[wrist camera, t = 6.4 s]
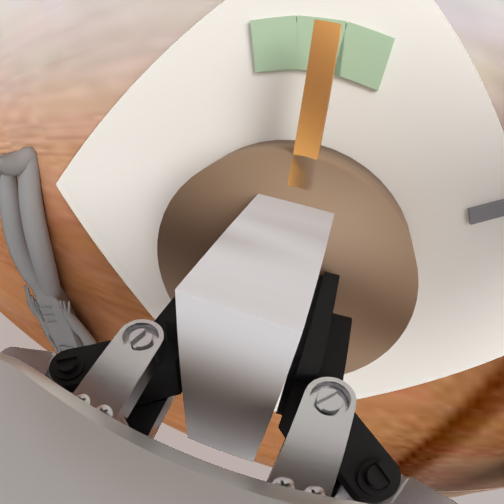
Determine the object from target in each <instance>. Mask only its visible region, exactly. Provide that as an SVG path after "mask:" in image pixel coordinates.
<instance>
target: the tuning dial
mask: <svg viewBox="0 0 504 504" xmlns="http://www.w3.org/2000/svg"><path fill="white" fill-rule="evenodd" d="M341 27H342V26H341V24H339V23H334V22H328V21H322V20H316V19H314V26H313V33H312V40H311V46H310V53H309V59H308V66H307V72H306V79H305V85H304V91H303V97H302V103H301V110H300V116H299V122H298V128H297V134H296V139H295V140H273V141H265V142H259V143H255V144H251V145H248V146H244V147H242V148H240V149H237V150H235V151H233V152H231V153H229V154H227V155H225V156H224V157H222V158H220V159H219V160H217V161H215V162H214V163H212V164H210V165H209V166H207V167H206V168H204V169H203V170H201V171H200V172H198V173H197V174H195V175H194V176H192V177H191V178H190V179H189V180H188V181H187V182H186V183H185V184H184V185H183V186H181V187H180V188H179V190H178V191H177V192H176V194H175V195H174V196H173V198H172V199H171V200H170V202H169V204H168V206H167V208H166V210H165V212H164V214H163V218H162V221H161V224H160V227H159V233H158V239H157V256H158V264H159V269H160V273H161V277H162V281H163V283H164V286H165V288H166V291H167V293H168V295H169V297H170V299H171V300H172V299H173V298H174V296H175V299H176V318H177V334H178V347H179V360H180V371H181V382H182V392H183V401H184V410H185V419H186V427H187V435H188V438H190V439H192V440H195V441H197V442H200V443H202V444H204V445H207V446H209V447H212V448H215V449H217V450H220V451H223V452H226V453H228V454H231V455H234V456H237V457H240V458H242V459H246V460H248V461H251V462H253V460H254V458H255V456H256V453H257V451H258V449H259V446H260V444H261V441H262V439H263V436H264V434H265V432H266V429H267V427H268V424H269V422H270V419H271V417H272V414H273V412H274V409H275V406H276V404H277V401H278V399H279V396H280V393H281V391H282V388H283V385H284V383H285V380H286V377H287V375H288V372H289V369H290V366H291V364H292V361H293V358H294V355H295V352H296V350H297V347H298V344H299V341H300V338H301V335H302V332H303V329H304V326H305V322H306V319H307V315H308V312H309V309H310V305H311V302H312V298H313V295H314V291H315V287H316V284H317V280H318V276H319V274H320V275H324V271H325V272H329V273H334V274H338V275H340V277H339V283H338V289H337V294H336V300H335V305H334V310H333V313H334V314H339V315H343V316H347V317H351V318H352V325H351V333H350V340H349V347H348V353H347V360H346V366H345V372H344V374H347V373H350V372H353V371H355V370H358V369H360V368H362V367H364V366H367V365H368V364H370V363H372V362H373V361H375V360H377V359H378V358H379V357H381V356H382V355H383V354H384V353H386V352H387V351H388V350H389V349H390V348H391V347H392V346H393V345H394V344H395V343H396V342H397V341H398V339H399V338H400V337H401V335H402V334H403V332H404V331H405V329H406V328H407V326H408V324H409V322H410V320H411V317H412V315H413V312H414V309H415V305H416V302H417V295H418V286H419V283H418V267H417V262H416V258H415V253H414V248H413V244H412V240H411V236H410V232H409V228H408V224H407V222H406V219H405V217H404V214H403V212H402V210H401V208H400V206H399V205H398V203H397V201H396V200H395V198H394V196H393V195H392V193H391V192H390V191H389V190H388V189H387V187H386V186H385V185H384V184H383V183H382V182H381V180H380V179H378V178H377V177H376V176H375V175H374V174H373V173H372V172H371V171H369V170H368V169H367V168H366V167H364V166H363V165H361V164H360V163H358V162H357V161H355V160H354V159H352V158H351V157H349V156H347V155H345V154H343V153H340V152H338V151H336V150H334V149H331V148H328V147H325V146H322V145H321V142H322V137H323V132H324V127H325V122H326V116H327V111H328V105H329V100H330V94H331V89H332V83H333V77H334V71H335V65H336V59H337V53H338V46H339V40H340V33H341Z"/></svg>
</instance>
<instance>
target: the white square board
mask: <svg viewBox="0 0 504 504" xmlns="http://www.w3.org/2000/svg"><path fill="white" fill-rule="evenodd" d="M314 19H316V20H322V21H328V22H334V23H339V24H341V26H342V27H341V33H340V40H339V46H338V53H337V59H336V65H335V71H334V77H333V83H332V89H331V94H330V100H329V105H328V111H327V116H326V122H325V127H324V132H323V137H322V142H321V145H322V146H325V147H328V148H331V149H334V150H336V151H338V152H340V153H343V154H345V155H347V156H349V157H351V158H352V159H354V160H355V161H357V162H358V163H360V164H361V165H363V166H364V167H366V168H367V169H368V170H369V171H371V172H372V173H373V174H374V175H375V176H376V177H377V178H378V179H380V180H381V182H382V183H383V184H384V185H385V186H386V187H387V189H388V190H389V191H390V192H391V193H392V195H393V196H394V198H395V200H396V201H397V203H398V205H399V206H400V208H401V210H402V212H403V214H404V217H405V219H406V222H407V224H408V228H409V232H410V236H411V240H412V244H413V248H414V253H415V258H416V262H417V267H418V283H419V286H418V295H417V302H416V305H415V309H414V312H413V315H412V317H411V320H410V322H409V324H408V326H407V328H406V329H405V331H404V332H403V334H402V335H401V337H400V338H399V339H398V341H397V342H396V343H395V344H394V345H393V346H392V347H391V348H390V349H389V350H388V351H387V352H386V353H384V354H383V355H382V356H381V357H379V358H378V359H377V360H375V361H373V362H372V363H370V364H368V365H367V366H364V367H362V368H360V369H358V370H355V371H353V372H350V373H347V374H344V378H343V381H345V382H346V383H347V384H348V385H350V386H351V388H352V389H353V391H354V392H355V395H356V399H360V398H365V397H370V396H374V395H379V394H383V393H388V392H392V391H396V390H400V389H404V388H408V387H411V386H415V385H419V384H422V383H426V382H429V381H433V380H436V379H439V378H443V377H446V376H449V375H452V374H455V373H458V372H461V371H464V370H467V369H470V368H472V367H475V366H478V365H481V364H483V363H486V362H489V361H491V360H494V359H496V358H499V357H501V356H504V132H503V129H502V126H501V124H500V121H499V119H498V116H497V114H496V111H495V109H494V107H493V104H492V102H491V100H490V97H489V95H488V93H487V91H486V89H485V87H484V84H483V82H482V80H481V78H480V76H479V74H478V72H477V70H476V68H475V66H474V65H473V63H472V61H471V59H470V57H469V55H468V53H467V52H466V50H465V48H464V46H463V45H462V43H461V41H460V40H459V38H458V36H457V35H456V33H455V31H454V30H453V28H452V27H451V25H450V23H449V22H448V20H447V19H446V17H445V16H444V14H443V13H442V11H441V10H440V9H439V7H438V6H437V4H436V3H435V1H434V0H225V1H224V2H223V3H221V4H220V5H219V6H217V7H216V8H215V9H214V10H212V11H211V12H210V13H209V14H207V15H206V16H205V17H204V18H202V19H201V20H200V21H199V22H198V23H196V24H195V25H194V26H193V27H192V28H191V29H189V30H188V31H187V32H186V33H185V34H184V35H183V36H182V37H180V38H179V39H178V40H177V41H176V42H175V43H174V44H173V45H172V46H171V47H170V48H169V49H168V50H166V51H165V52H164V53H163V54H162V55H161V56H160V57H159V58H158V59H157V60H156V61H155V62H154V63H153V64H152V65H151V66H150V67H149V68H148V69H147V70H146V71H145V72H144V73H143V74H142V75H141V77H140V78H139V79H138V80H137V81H136V82H135V83H134V84H133V85H132V86H131V87H130V88H129V89H128V91H127V92H126V93H125V94H124V95H123V96H122V97H121V98H120V100H119V101H118V102H117V103H116V104H115V105H114V107H113V108H112V109H111V110H110V111H109V113H108V114H107V115H106V116H105V117H104V119H103V120H102V121H101V122H100V124H99V125H98V126H97V127H96V129H95V130H94V131H93V133H92V134H91V135H90V136H89V138H88V139H87V140H86V142H85V143H84V144H83V146H82V147H81V148H80V150H79V151H78V153H77V154H76V155H75V157H74V158H73V160H72V161H71V162H70V164H69V165H68V167H67V168H66V170H65V171H64V173H63V174H62V176H61V177H60V179H59V180H58V182H57V183H56V186H57V187H58V189H59V191H60V192H61V194H62V195H63V197H64V198H65V200H66V201H67V203H68V204H69V206H70V208H71V209H72V211H73V212H74V214H75V215H76V216H77V218H78V219H79V221H80V222H81V224H82V225H83V227H84V228H85V230H86V231H87V232H88V234H89V235H90V237H91V238H92V240H93V241H94V242H95V244H96V245H97V246H98V248H99V249H100V251H101V252H102V253H103V255H104V256H105V257H106V259H107V260H108V261H109V263H110V264H111V265H112V267H113V268H114V269H115V271H116V272H117V273H118V275H119V276H120V277H121V278H122V280H123V281H124V282H125V284H126V285H127V286H128V287H129V289H130V290H131V291H132V292H133V294H134V295H135V296H136V297H137V299H138V300H139V301H140V302H141V303H142V305H143V306H144V307H145V308H146V309H147V311H148V312H149V313H150V314H151V315H152V317H153V318H154V319H155V320H156V318H157V317H158V316H159V315H160V314H161V312H162V311H163V310H164V309H165V307H166V306H167V305H168V304H169V302H170V301H171V299H170V297H169V295H168V293H167V291H166V288H165V286H164V283H163V281H162V277H161V273H160V269H159V264H158V256H157V239H158V233H159V227H160V224H161V221H162V218H163V214H164V212H165V210H166V208H167V206H168V204H169V202H170V200H171V199H172V198H173V196H174V195H175V194H176V192H177V191H178V190H179V188H180V187H181V186H183V185H184V184H185V183H186V182H187V181H188V180H189V179H190V178H191V177H192V176H194V175H195V174H197V173H198V172H200V171H201V170H203V169H204V168H206V167H207V166H209V165H210V164H212V163H214V162H215V161H217V160H219V159H220V158H222V157H224V156H225V155H227V154H229V153H231V152H233V151H235V150H237V149H240V148H242V147H244V146H248V145H251V144H255V143H259V142H265V141H273V140H295V139H296V134H297V128H298V122H299V116H300V110H301V103H302V97H303V91H304V85H305V79H306V72H307V66H308V59H309V53H310V46H311V40H312V33H313V26H314ZM285 381H286V380H285ZM284 384H285V383H284ZM283 388H284V385H283ZM283 388H282V391H283ZM282 391H281V393H280V396H279V399H278V401H277V404H276V406H275V409H274V411H277V408H278V405H279V402H280V398H281V395H282Z"/></svg>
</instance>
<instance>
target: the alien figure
mask: <svg viewBox="0 0 504 504" xmlns="http://www.w3.org/2000/svg"><path fill="white" fill-rule="evenodd" d="M17 175H18V184H17V179H16V176H17ZM0 214H1V220H2V226H3V231H4V236H5V240H6V244H7V247H8V249H9V252H10V255H11V257H12V259H13V261H14V264H15V266H16V267H17V269H18V271H19V273H20V274H21V276H22V277H23V279H24V280H25V281H26V283H27V284H28V285H29V287H30V288H31V289H32V290H33V291H34V294H35V297H36V300H35V299H34V297H33V296H32V295H30V292H29V288H27V286H26V285H24V288H25V292H26V295H27V302H28V305H29V308H30V309H31V311H32V313H33V314H34V315H35V316H36V317H37V318H38V319H39V321H40V324H41V326H42V329H43V331H44V333H45V335H46V337H47V338H48V340H49V341H50V342H51V344H52V345H53V347H54V349H55V351H56V352H57V354H58V353H59V352H61V351H64V350H67V349H71V348H76V347H81V346H86V345H91V344H96V343H97V342H96V341H95V339H94V338H93V336H92V335H91V334H90V332H89V331H88V330H87V329H86V327H85V326H84V325H83V324H82V323H81V321H80V320H79V319H78V318H77V316H76V314H75V312H74V310H73V307H72V305H71V302H70V301H69V299H68V297H67V295H66V293H65V292H64V290H63V288H62V287H61V285H60V280H59V276H58V271H57V267H56V263H55V258H54V254H53V250H52V246H51V241H50V237H49V232H48V228H47V223H46V218H45V212H44V206H43V199H42V191H41V182H40V172H39V165H38V159H37V154H36V151H35V150H34V149H33V148H32V147H24V148H22V149H21V150H19V151H14V152H10V153H8V154H2V155H0Z"/></svg>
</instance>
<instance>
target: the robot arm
mask: <svg viewBox="0 0 504 504" xmlns="http://www.w3.org/2000/svg"><path fill="white" fill-rule="evenodd" d="M339 277H340V275H338V274H334V273H329V272H325V271H324V275H320V274H319V276H318V280H317V284H316V287H315V291H314V295H313V298H312V302H311V305H310V309H309V312H308V315H307V319H306V322H305V326H304V329H303V332H302V335H301V338H300V341H299V344H298V347H297V350H296V352H295V355H294V358H293V361H292V364H291V366H290V369H289V372H288V375H287V377H286V381H285V384H284V388H283V391H282V395H281V398H280V402H279V405H278V408H277V412H276V413H277V414H281V415H282V418H281V421H280V424H279V429H280V431H281V432H282V434H283V435H284V437H285V440H284V443H283V445H282V448H281V450H280V452H279V455H278V457H277V459H276V462H275V464H274V466H273V468H272V471H271V473H270V475H269V477H268V480H267V482H265V481H262V480H259V479H255V478H252V477H249V476H246V475H242V474H239V473H236V472H233V471H230V470H227V469H225V468H222V467H219V466H216V465H214V464H211V463H208V462H206V461H203V460H201V459H198V458H195V457H193V456H190V455H188V454H186V453H183V452H181V451H179V450H176V449H174V448H172V447H169V446H167V445H165V444H163V443H161V442H159V441H156V440H154V439H153V438H154V436H155V434H156V433H157V431H158V429H159V426H160V425H161V423H162V421H163V419H164V417H165V415H166V413H167V411H168V409H169V407H170V405H171V403H172V401H173V399H174V396H175V395H178V394H181V393H182V382H181V371H180V360H179V347H178V334H177V318H176V299H175V296H174V298H173V299H172V300H171V301H170V302H169V304H168V305H167V306H166V307H165V309H164V310H163V311H162V312H161V314H160V315H159V316H158V317H157V318H156V320H155V321H152V320H147V319H137V320H134V321H131V322H129V323H127V324H125V325H124V326H123V327H122V328H121V329H120V330H119V332H118V333H117V334H116V336H115V337H114V338H113V339H112V340H110V341H105V342H101V343H96V344H91V345H86V346H81V347H76V348H71V349H67V350H64V351H61V352H59V353H58V354H56V355H55V354H54V352H51V351H42V350H34V349H26V348H19V347H9V348H6V349H4V350H3V351H2V352H1V353H0V504H457V503H456V502H455V501H453V500H451V499H450V498H448V497H446V496H444V495H442V494H440V493H439V492H437V491H435V490H433V489H432V488H430V487H428V486H426V485H425V484H423V483H421V482H419V481H418V480H416V479H414V478H413V477H411V476H410V477H409V478H407V477H405V476H403V475H402V474H401V473H400V469H399V467H398V466H397V464H396V462H395V461H394V460H393V459H392V458H391V456H390V455H389V454H388V453H387V451H386V450H385V449H384V448H383V447H382V445H381V444H380V443H379V442H378V440H377V439H376V438H375V437H374V435H373V434H372V433H371V432H370V431H369V429H368V428H367V427H366V426H365V424H364V423H363V422H362V421H361V419H360V418H359V417H358V416H357V414H356V413H355V408H356V395H355V392H354V391H353V389H352V388H351V386H350V385H348V384H347V383H346V382H345V381H343V378H344V372H345V366H346V360H347V353H348V347H349V340H350V333H351V325H352V318H351V317H347V316H343V315H339V314H334V313H333V310H334V305H335V300H336V294H337V289H338V283H339Z"/></svg>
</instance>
